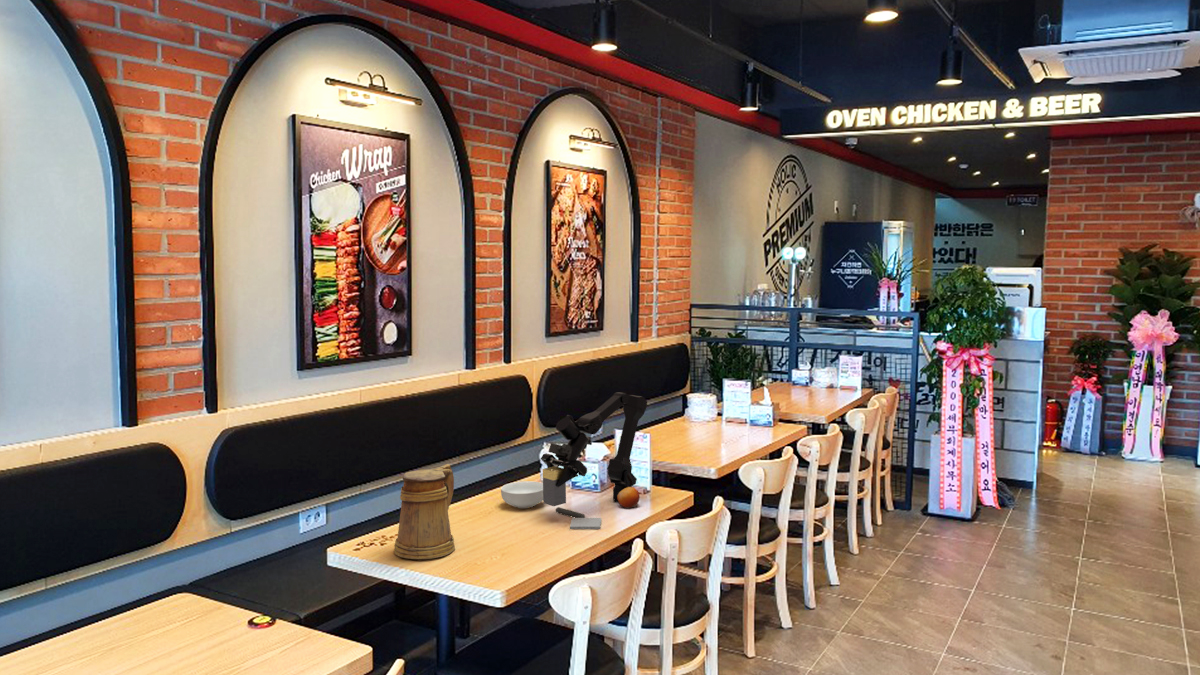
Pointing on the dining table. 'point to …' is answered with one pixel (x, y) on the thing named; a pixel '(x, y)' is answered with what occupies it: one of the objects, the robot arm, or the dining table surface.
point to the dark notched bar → (569, 513)
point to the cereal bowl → (522, 493)
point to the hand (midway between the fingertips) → (551, 484)
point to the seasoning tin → (553, 487)
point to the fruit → (628, 497)
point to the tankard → (425, 514)
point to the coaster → (585, 523)
